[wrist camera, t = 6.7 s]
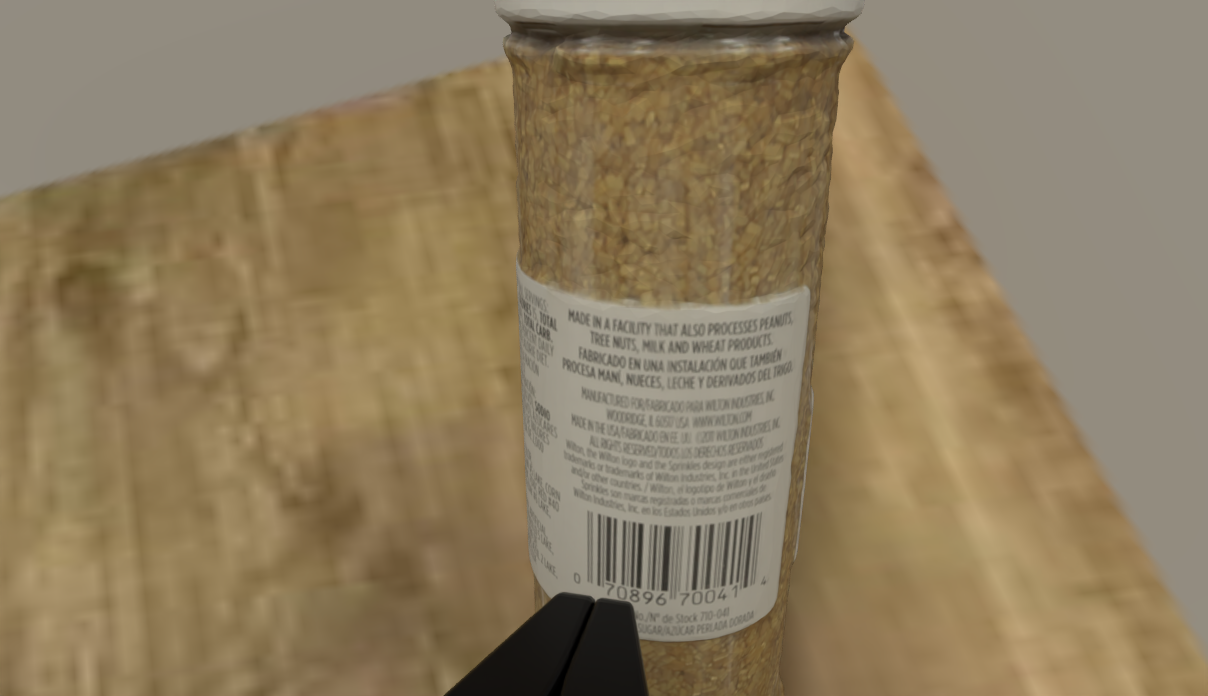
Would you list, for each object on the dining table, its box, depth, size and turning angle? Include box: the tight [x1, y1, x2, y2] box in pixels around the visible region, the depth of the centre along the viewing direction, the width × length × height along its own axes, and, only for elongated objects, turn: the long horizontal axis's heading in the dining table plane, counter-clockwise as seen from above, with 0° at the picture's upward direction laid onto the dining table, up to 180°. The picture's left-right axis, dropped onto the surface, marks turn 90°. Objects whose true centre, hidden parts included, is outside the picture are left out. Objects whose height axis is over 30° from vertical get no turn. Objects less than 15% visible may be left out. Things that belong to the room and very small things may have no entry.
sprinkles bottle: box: [494, 0, 865, 696], centre depth 13 cm, size 5×5×14 cm
